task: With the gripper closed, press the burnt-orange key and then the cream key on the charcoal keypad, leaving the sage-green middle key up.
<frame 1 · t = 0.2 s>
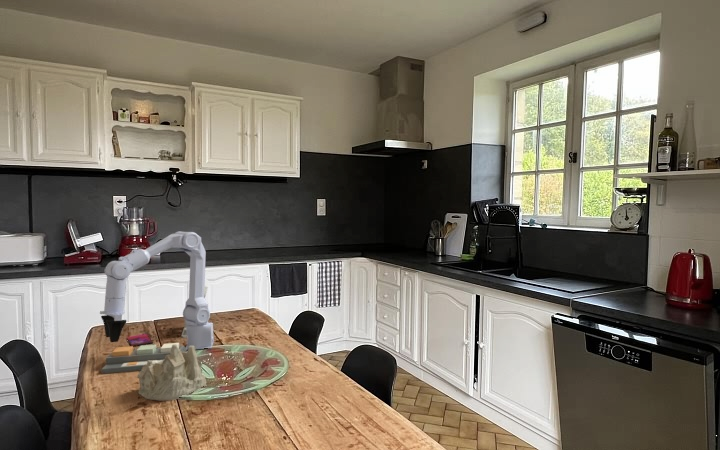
hand: (111, 339, 143), 10 cm above the table, fingers open, 7 cm apart
keypad: (147, 361, 150), on the table
sage key: (146, 350, 150), point 4 cm above the table, slide at 0.0 cm
phone holder: (195, 331, 188), on the table
smartphone: (139, 342, 175), on the table
ceramic cottage: (173, 389, 128), on the table
cream key: (170, 348, 152), point 4 cm above the table, slide at 0.0 cm
orange key: (122, 351, 149), point 4 cm above the table, slide at 0.0 cm
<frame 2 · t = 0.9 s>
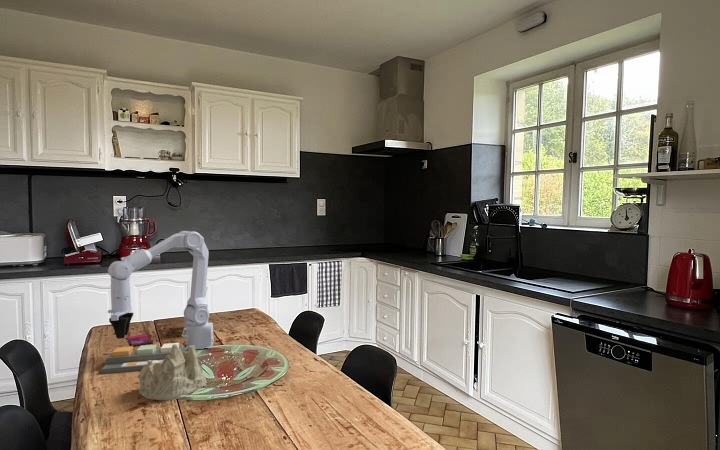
hand: (122, 336, 148), 9 cm above the table, fingers open, 3 cm apart
nothing on the table moved.
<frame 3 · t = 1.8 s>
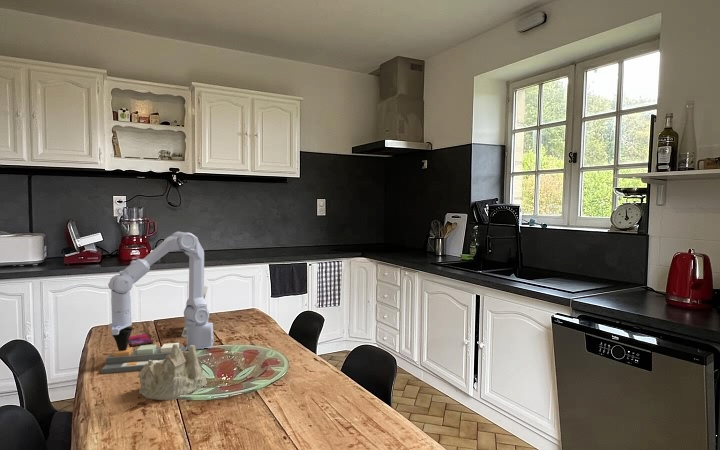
hand: (122, 350, 149), 5 cm above the table, fingers closed, pressing on orange key
orange key: (123, 352, 149), point 4 cm above the table, slide at 0.3 cm, touching gripper
everything else where it was.
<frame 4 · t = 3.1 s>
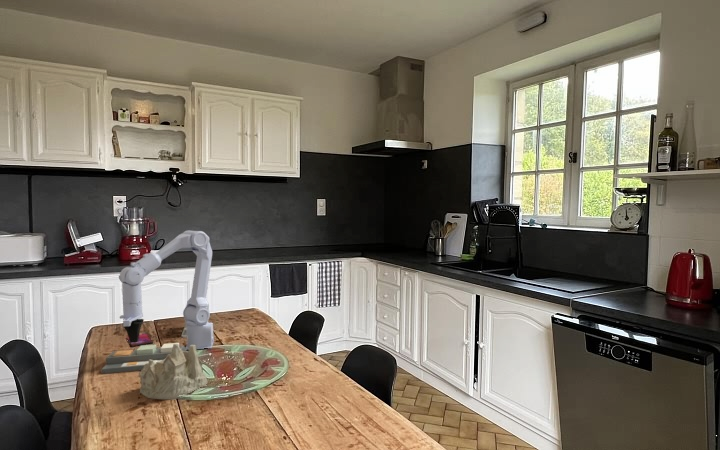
hand: (134, 341, 149), 7 cm above the table, fingers closed
orange key: (123, 355, 149), point 3 cm above the table, slide at 1.3 cm
everything else where it was.
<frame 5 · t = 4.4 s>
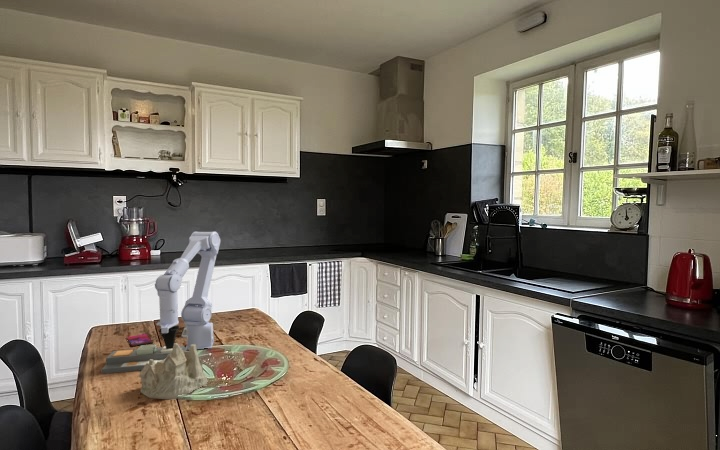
hand: (170, 348, 152), 4 cm above the table, fingers closed, pressing on cream key
cream key: (170, 350, 152), point 3 cm above the table, slide at 0.9 cm, touching gripper
everything else where it was.
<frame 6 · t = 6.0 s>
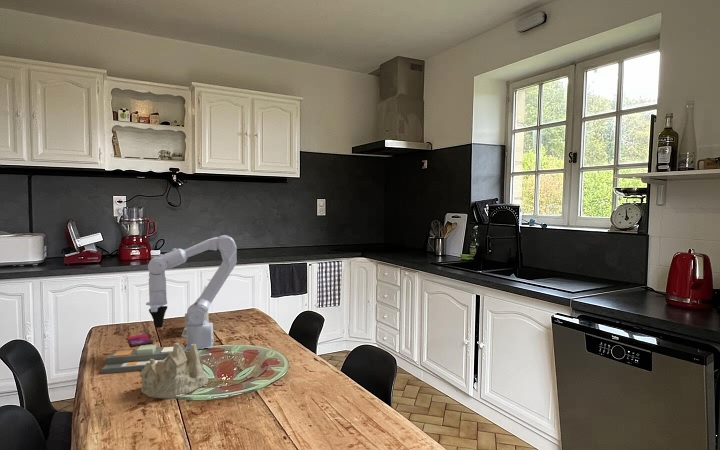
hand: (158, 327, 161), 9 cm above the table, fingers closed
cream key: (170, 351, 152), point 3 cm above the table, slide at 1.3 cm
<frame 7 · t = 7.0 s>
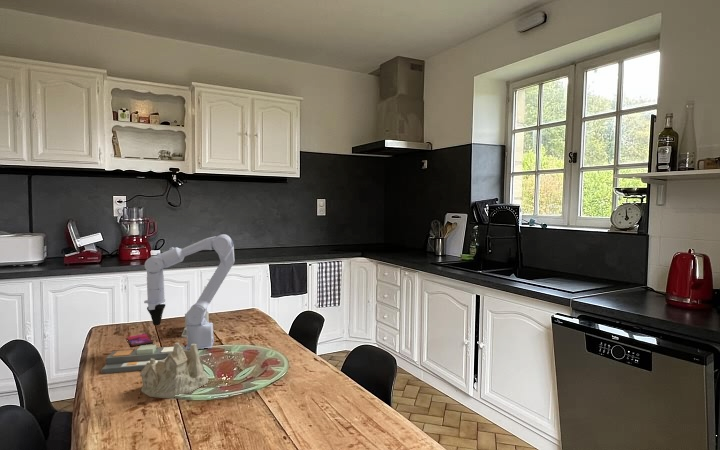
hand: (157, 324, 163), 9 cm above the table, fingers closed
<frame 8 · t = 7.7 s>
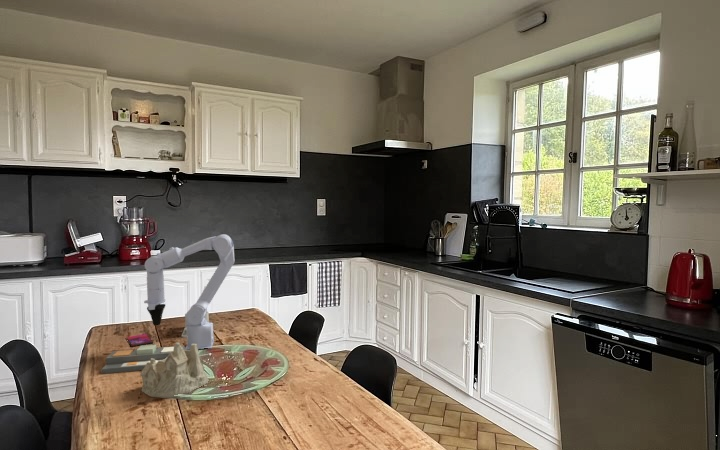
hand: (157, 324, 163), 9 cm above the table, fingers closed
at the end: orange key slide at 1.3 cm; cream key slide at 1.3 cm; sage key slide at 0.0 cm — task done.
